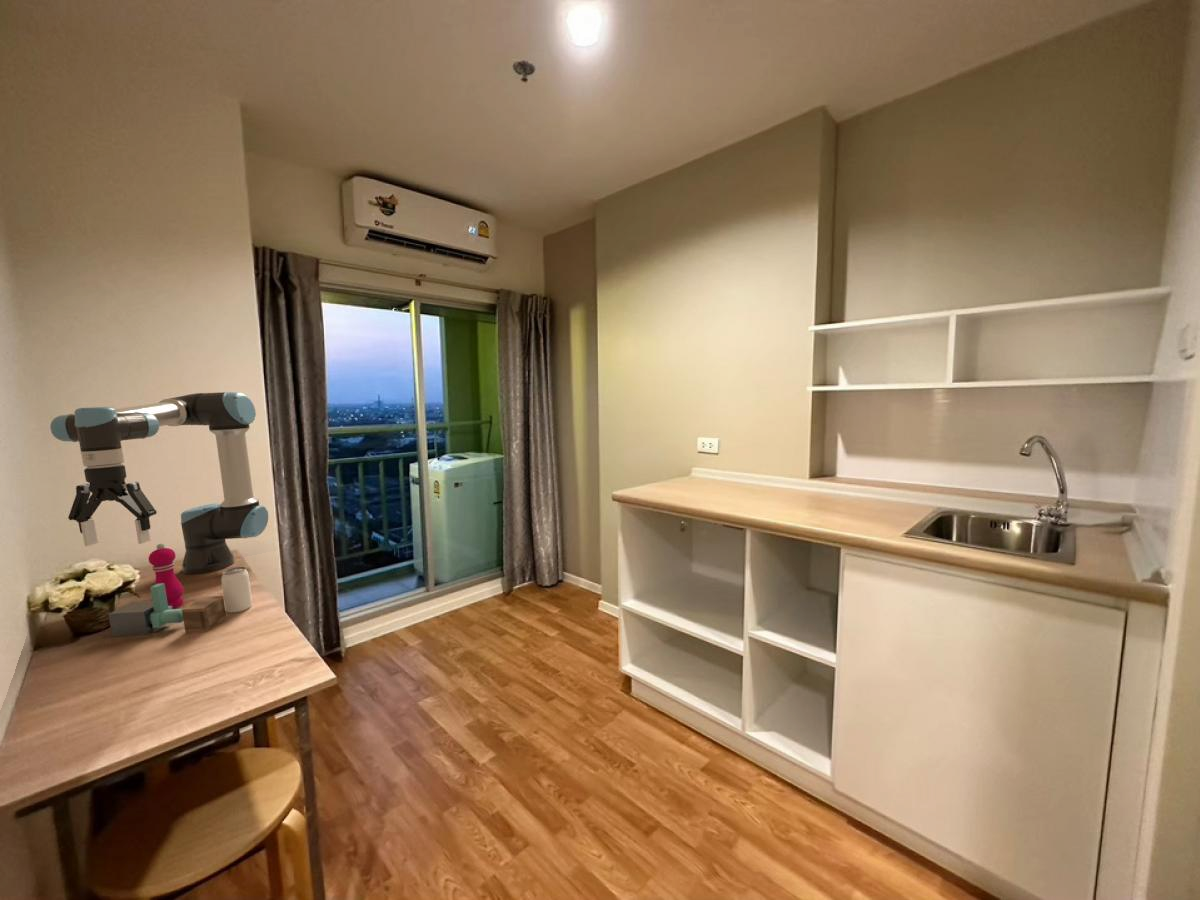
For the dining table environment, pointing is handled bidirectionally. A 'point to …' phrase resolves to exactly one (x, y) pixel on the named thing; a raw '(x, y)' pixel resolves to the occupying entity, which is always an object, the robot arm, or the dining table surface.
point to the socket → (204, 614)
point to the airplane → (162, 608)
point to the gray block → (132, 619)
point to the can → (236, 589)
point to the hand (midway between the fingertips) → (118, 543)
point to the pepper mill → (167, 574)
